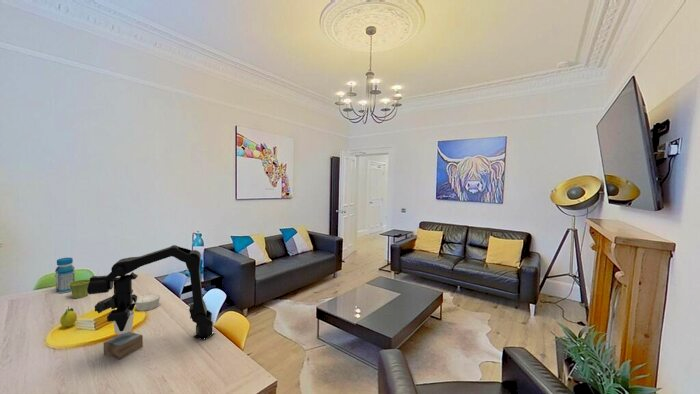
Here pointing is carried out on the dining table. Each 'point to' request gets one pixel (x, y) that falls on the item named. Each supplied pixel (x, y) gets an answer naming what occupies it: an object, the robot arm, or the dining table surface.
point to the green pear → (68, 317)
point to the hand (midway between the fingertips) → (123, 327)
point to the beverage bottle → (64, 275)
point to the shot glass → (128, 325)
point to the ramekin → (147, 302)
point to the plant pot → (79, 288)
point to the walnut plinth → (123, 345)
